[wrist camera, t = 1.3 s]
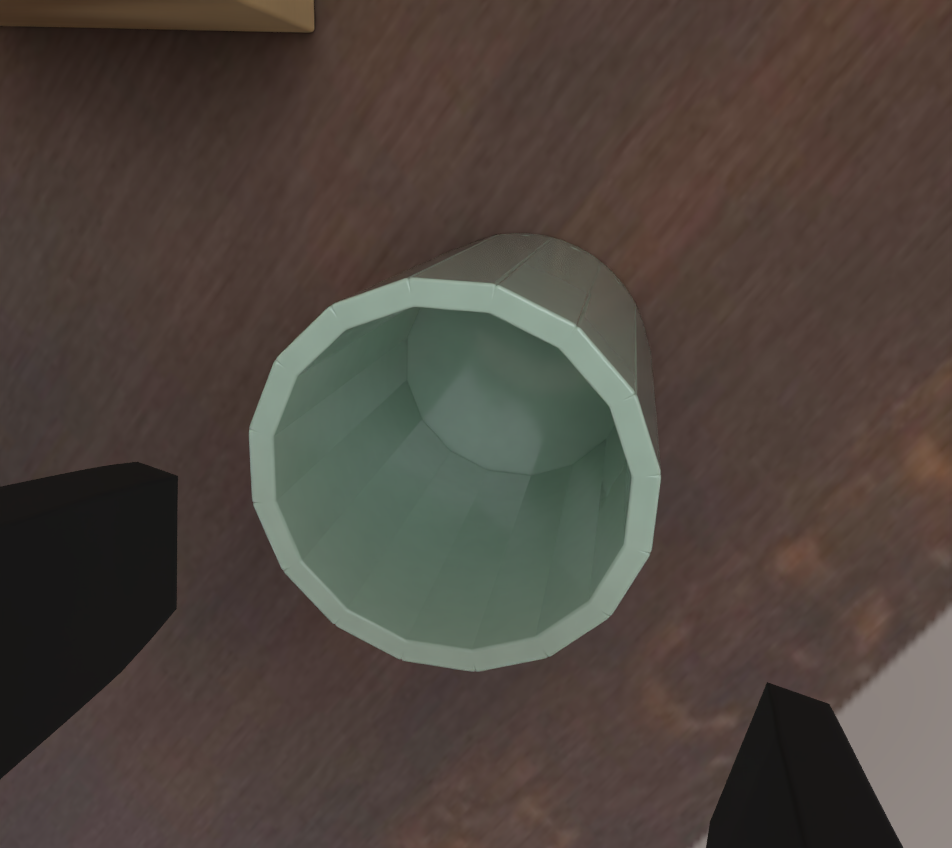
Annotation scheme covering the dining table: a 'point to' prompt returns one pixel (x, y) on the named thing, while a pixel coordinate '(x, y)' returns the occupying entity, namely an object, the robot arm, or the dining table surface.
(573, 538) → the cup
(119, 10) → the block
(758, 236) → the dining table surface
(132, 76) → the dining table surface
